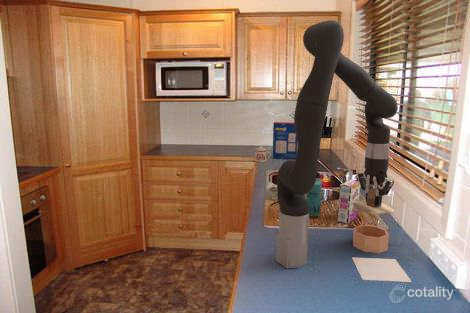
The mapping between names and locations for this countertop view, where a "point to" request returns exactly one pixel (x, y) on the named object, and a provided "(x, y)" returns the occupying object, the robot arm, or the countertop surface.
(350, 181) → the candy bar box
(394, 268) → the mat
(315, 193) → the beverage bottle
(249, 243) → the countertop surface
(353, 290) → the countertop surface
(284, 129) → the blue flat square box
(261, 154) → the teacup with lid
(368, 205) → the lid
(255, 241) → the countertop surface
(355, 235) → the bowl
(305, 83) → the robot arm
